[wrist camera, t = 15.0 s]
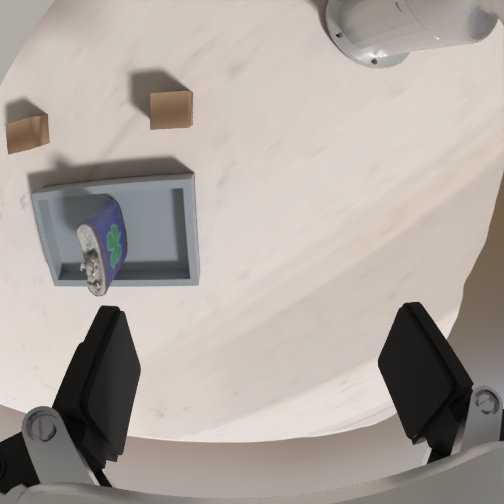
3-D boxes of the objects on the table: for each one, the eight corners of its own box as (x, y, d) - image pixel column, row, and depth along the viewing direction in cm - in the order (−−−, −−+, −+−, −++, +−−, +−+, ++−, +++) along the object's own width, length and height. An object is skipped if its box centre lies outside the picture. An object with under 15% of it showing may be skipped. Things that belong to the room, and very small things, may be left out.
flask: (101, 197, 36) (66, 231, 26) (122, 196, 36) (91, 230, 26) (112, 261, 40) (85, 307, 30) (131, 261, 40) (108, 308, 31)
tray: (43, 186, 35) (31, 194, 32) (194, 172, 36) (191, 179, 33) (63, 273, 41) (54, 285, 38) (200, 271, 43) (198, 285, 40)
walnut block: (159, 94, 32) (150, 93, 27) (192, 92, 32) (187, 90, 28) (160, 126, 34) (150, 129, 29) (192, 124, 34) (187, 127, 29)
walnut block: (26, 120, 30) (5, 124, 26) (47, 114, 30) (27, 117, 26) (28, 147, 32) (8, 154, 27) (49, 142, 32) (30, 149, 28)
